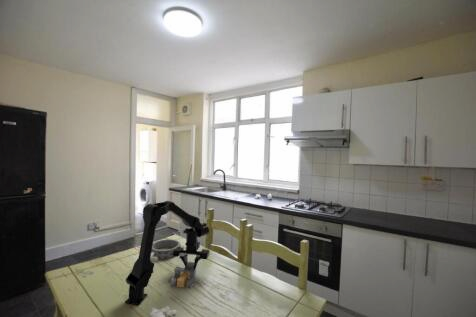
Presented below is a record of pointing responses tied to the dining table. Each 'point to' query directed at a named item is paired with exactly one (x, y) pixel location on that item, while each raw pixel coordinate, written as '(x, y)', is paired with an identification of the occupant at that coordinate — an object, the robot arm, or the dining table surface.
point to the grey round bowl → (164, 253)
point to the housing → (179, 270)
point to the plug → (185, 275)
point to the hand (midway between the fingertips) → (190, 268)
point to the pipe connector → (153, 257)
